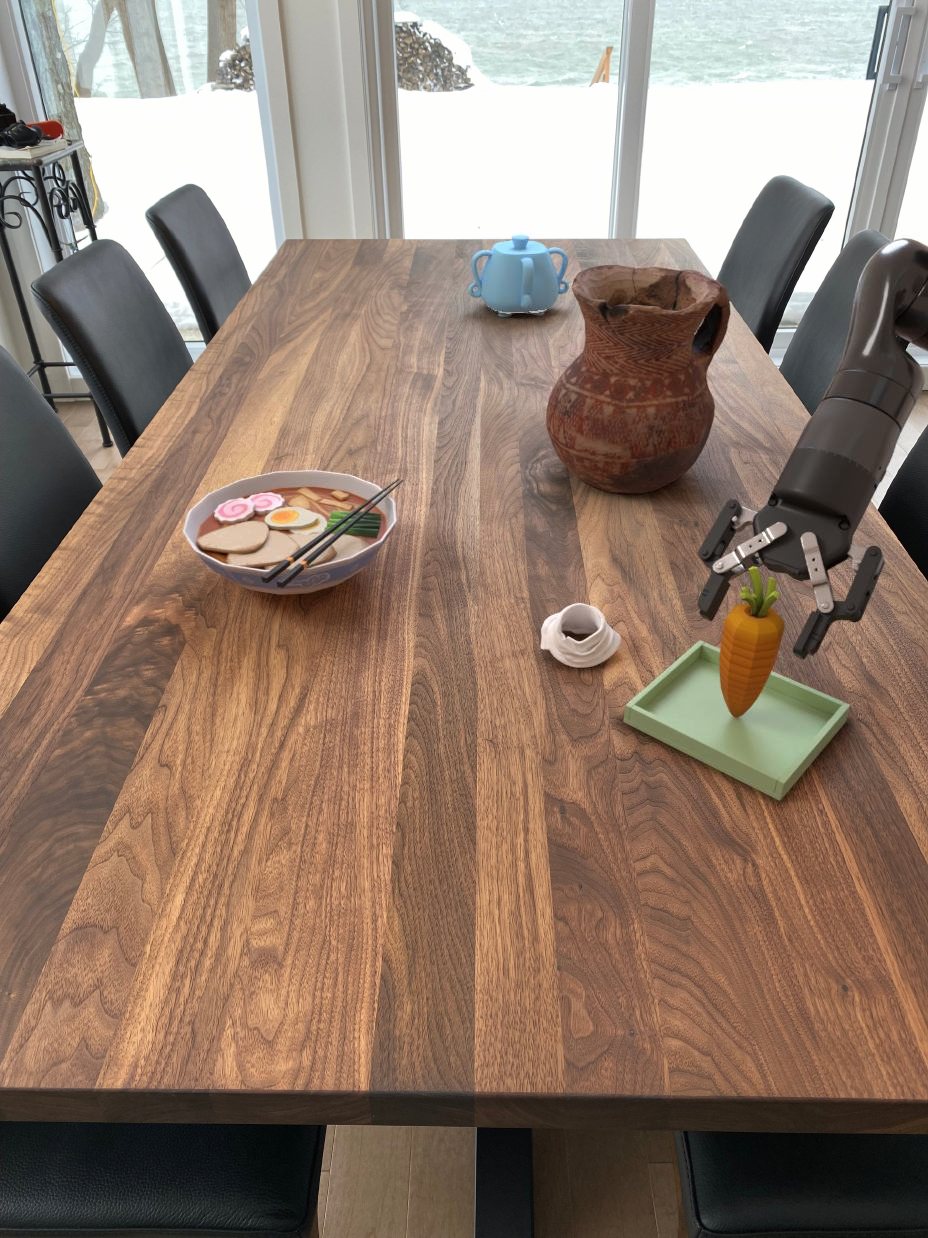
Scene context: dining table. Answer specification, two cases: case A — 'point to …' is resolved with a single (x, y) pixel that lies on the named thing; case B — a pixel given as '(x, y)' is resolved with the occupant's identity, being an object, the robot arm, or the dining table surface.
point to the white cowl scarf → (579, 622)
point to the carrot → (749, 645)
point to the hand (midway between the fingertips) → (750, 636)
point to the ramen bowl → (291, 529)
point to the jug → (639, 377)
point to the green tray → (737, 722)
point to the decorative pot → (519, 276)
